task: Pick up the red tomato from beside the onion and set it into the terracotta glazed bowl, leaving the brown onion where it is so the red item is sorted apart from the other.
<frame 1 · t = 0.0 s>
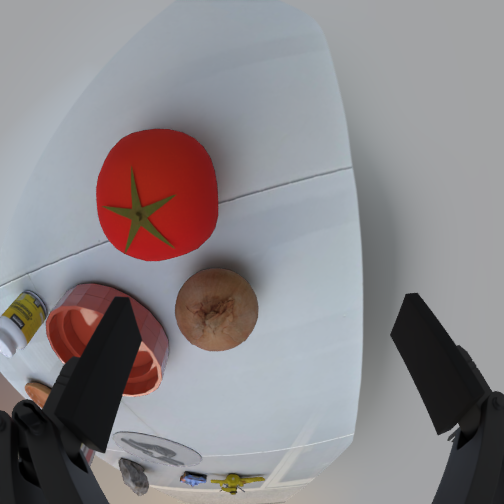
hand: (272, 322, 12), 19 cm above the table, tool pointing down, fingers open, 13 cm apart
red bowl: (112, 331, 38), on the table
plate: (156, 451, 63), on the table
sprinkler: (237, 478, 75), on the table
toy car: (192, 475, 75), on the table
onion: (219, 287, 35), on the table
rock: (135, 465, 74), on the table
tomato: (171, 182, 28), on the table
pill bottle: (35, 303, 36), on the table
saucer: (51, 396, 51), on the table
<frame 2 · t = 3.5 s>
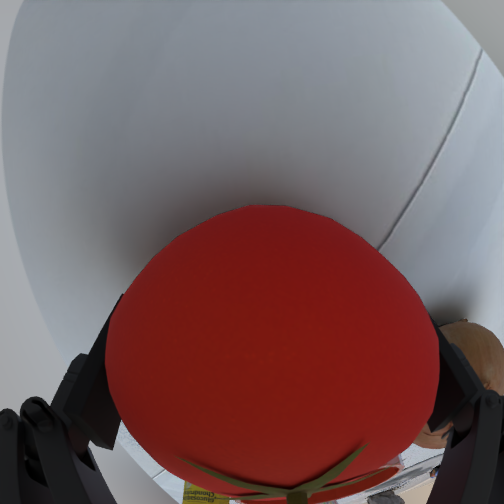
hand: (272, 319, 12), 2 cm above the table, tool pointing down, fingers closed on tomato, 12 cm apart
red bowl: (315, 453, 26), on the table
plate: (402, 476, 46), on the table
toy car: (440, 466, 53), on the table
onion: (427, 345, 17), on the table
rock: (383, 492, 59), on the table
tomato: (268, 290, 14), on the table, touching gripper
pill bottle: (207, 472, 30), on the table
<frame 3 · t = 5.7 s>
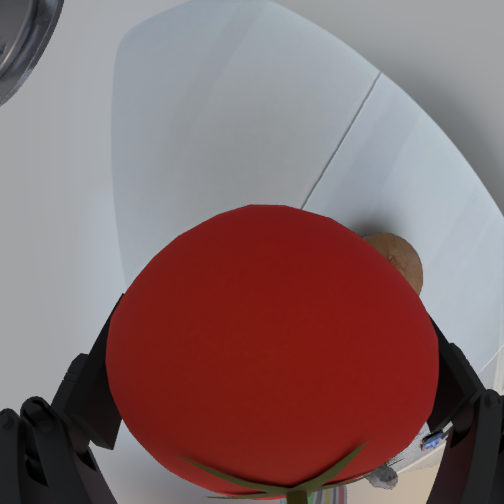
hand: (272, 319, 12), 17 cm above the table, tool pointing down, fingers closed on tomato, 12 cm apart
vase: (301, 423, 48), on the table
toy car: (429, 438, 65), on the table
onion: (367, 257, 31), on the table
rock: (377, 464, 72), on the table
tomato: (268, 289, 14), point 15 cm above the table, touching gripper
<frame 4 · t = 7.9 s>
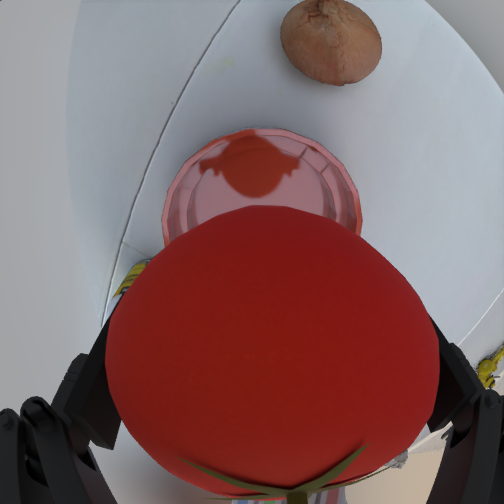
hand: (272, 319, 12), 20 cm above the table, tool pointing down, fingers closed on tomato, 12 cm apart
vase: (277, 339, 40), on the table
red bowl: (260, 212, 31), on the table
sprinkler: (486, 367, 53), on the table
onion: (319, 50, 23), on the table
rock: (381, 436, 64), on the table
tomato: (268, 290, 14), point 18 cm above the table, touching gripper
pill bottle: (153, 278, 35), on the table
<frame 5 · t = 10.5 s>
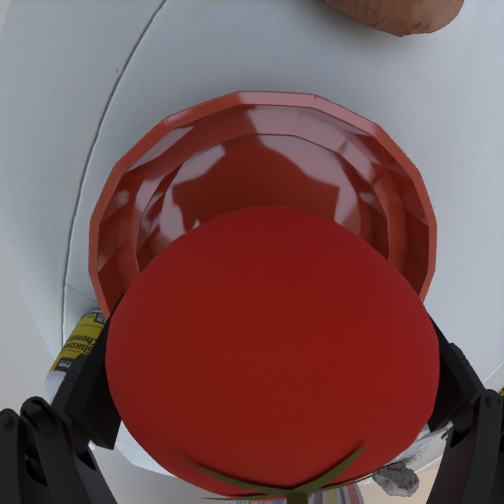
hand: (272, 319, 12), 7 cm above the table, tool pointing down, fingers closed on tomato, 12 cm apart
vase: (282, 402, 28), on the table
red bowl: (263, 246, 19), on the table
plate: (418, 430, 39), on the table
rock: (392, 466, 52), on the table
tomato: (268, 290, 14), point 5 cm above the table, touching gripper
pill bottle: (111, 331, 23), on the table
when the fingers open (3 cm above the table, at t = 12.4 s): tomato stays where it is, resting on red bowl.
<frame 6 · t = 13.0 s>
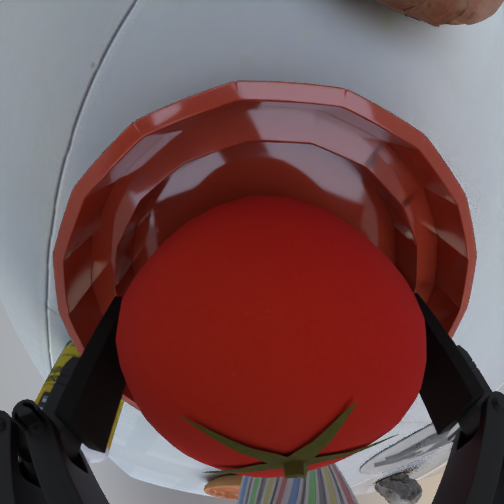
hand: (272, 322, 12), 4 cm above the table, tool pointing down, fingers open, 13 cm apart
vase: (286, 427, 25), on the table
red bowl: (267, 275, 16), on the table
plate: (423, 444, 36), on the table
rock: (395, 476, 49), on the table
tomato: (267, 279, 15), point 1 cm above the table, touching red bowl
pill bottle: (100, 358, 20), on the table
saucer: (249, 480, 36), on the table
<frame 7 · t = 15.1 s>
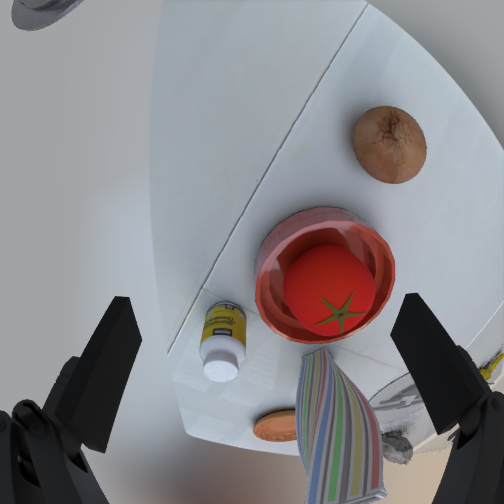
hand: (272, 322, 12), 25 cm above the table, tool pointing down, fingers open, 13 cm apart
vase: (318, 358, 49), on the table
red bowl: (319, 268, 40), on the table
plate: (407, 396, 59), on the table
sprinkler: (481, 375, 61), on the table
onion: (374, 141, 32), on the table
rock: (390, 436, 72), on the table
tomato: (320, 270, 39), point 1 cm above the table, touching red bowl
pill bottle: (226, 315, 44), on the table
saucer: (284, 420, 60), on the table
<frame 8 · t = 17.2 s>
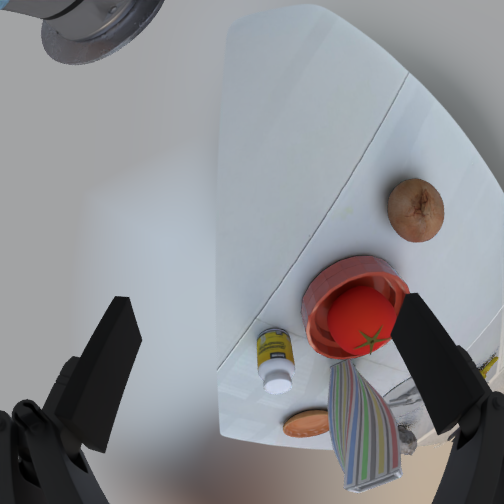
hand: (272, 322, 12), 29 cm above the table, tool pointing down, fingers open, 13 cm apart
vase: (343, 367, 57), on the table
red bowl: (351, 300, 48), on the table
plate: (412, 395, 68), on the table
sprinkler: (477, 375, 69), on the table
onion: (402, 201, 39), on the table
rock: (396, 429, 81), on the table
tomato: (352, 301, 47), point 1 cm above the table, touching red bowl
pill bottle: (273, 338, 52), on the table
saucer: (309, 418, 68), on the table
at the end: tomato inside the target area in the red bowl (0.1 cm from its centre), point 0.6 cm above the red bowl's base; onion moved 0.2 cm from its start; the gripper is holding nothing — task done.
